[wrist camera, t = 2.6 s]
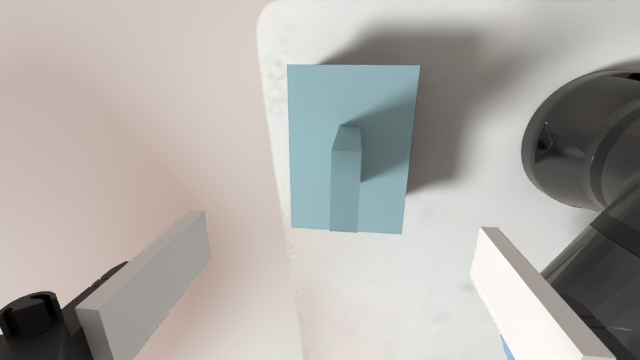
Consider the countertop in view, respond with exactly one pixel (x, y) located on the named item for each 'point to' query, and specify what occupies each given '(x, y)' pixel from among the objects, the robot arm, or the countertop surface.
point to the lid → (350, 145)
